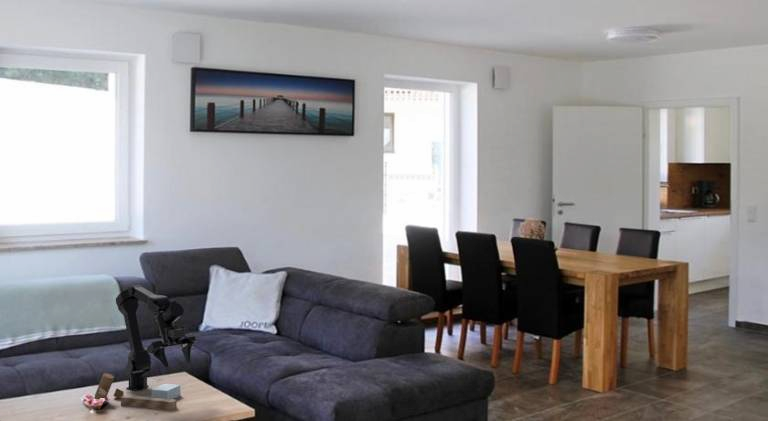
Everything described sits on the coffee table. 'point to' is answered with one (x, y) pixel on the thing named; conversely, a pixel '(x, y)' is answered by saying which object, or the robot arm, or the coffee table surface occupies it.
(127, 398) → the brown wooden bar
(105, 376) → the wooden block set
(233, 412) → the coffee table surface
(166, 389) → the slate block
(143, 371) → the robot arm
